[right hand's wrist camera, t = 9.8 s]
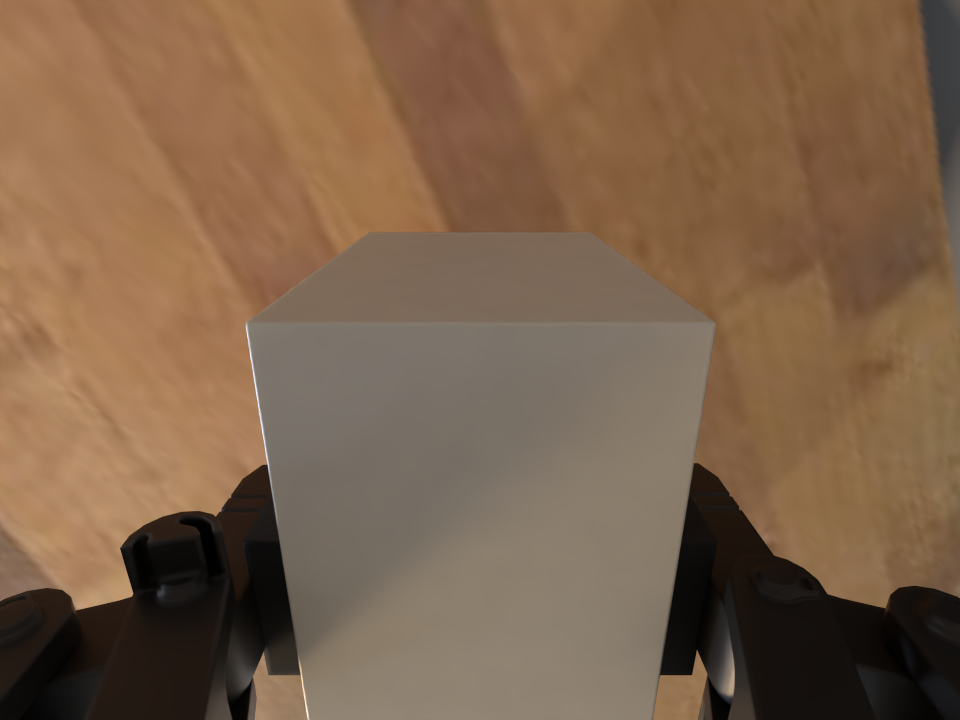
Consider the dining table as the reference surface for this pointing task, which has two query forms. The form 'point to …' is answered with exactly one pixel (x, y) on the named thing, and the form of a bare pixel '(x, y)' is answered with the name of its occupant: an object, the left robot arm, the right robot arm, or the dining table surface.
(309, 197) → the dining table surface
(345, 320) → the bar
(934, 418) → the dining table surface
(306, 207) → the dining table surface
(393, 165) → the dining table surface
